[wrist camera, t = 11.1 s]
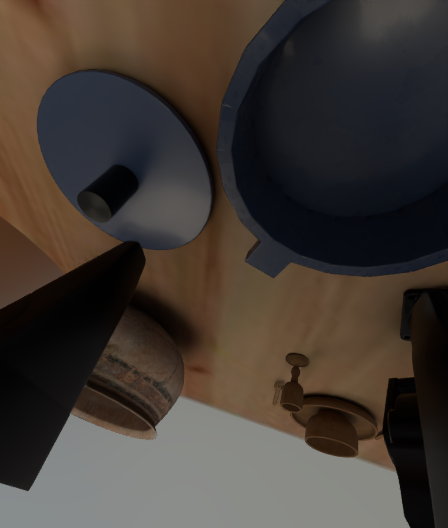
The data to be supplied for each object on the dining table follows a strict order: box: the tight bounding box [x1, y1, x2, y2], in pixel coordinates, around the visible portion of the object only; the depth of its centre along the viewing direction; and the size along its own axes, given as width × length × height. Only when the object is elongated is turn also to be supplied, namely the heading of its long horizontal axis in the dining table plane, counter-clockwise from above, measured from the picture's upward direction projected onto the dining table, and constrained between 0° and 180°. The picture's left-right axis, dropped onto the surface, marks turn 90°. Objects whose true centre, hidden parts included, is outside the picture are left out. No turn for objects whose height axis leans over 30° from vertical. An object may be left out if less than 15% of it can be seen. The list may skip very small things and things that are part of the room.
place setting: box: [273, 354, 384, 457], centre depth 38 cm, size 18×20×6 cm
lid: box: [37, 69, 213, 250], centre depth 22 cm, size 15×15×5 cm
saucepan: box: [216, 0, 448, 278], centre depth 14 cm, size 14×19×6 cm
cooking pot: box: [71, 305, 184, 440], centre depth 37 cm, size 25×19×12 cm
